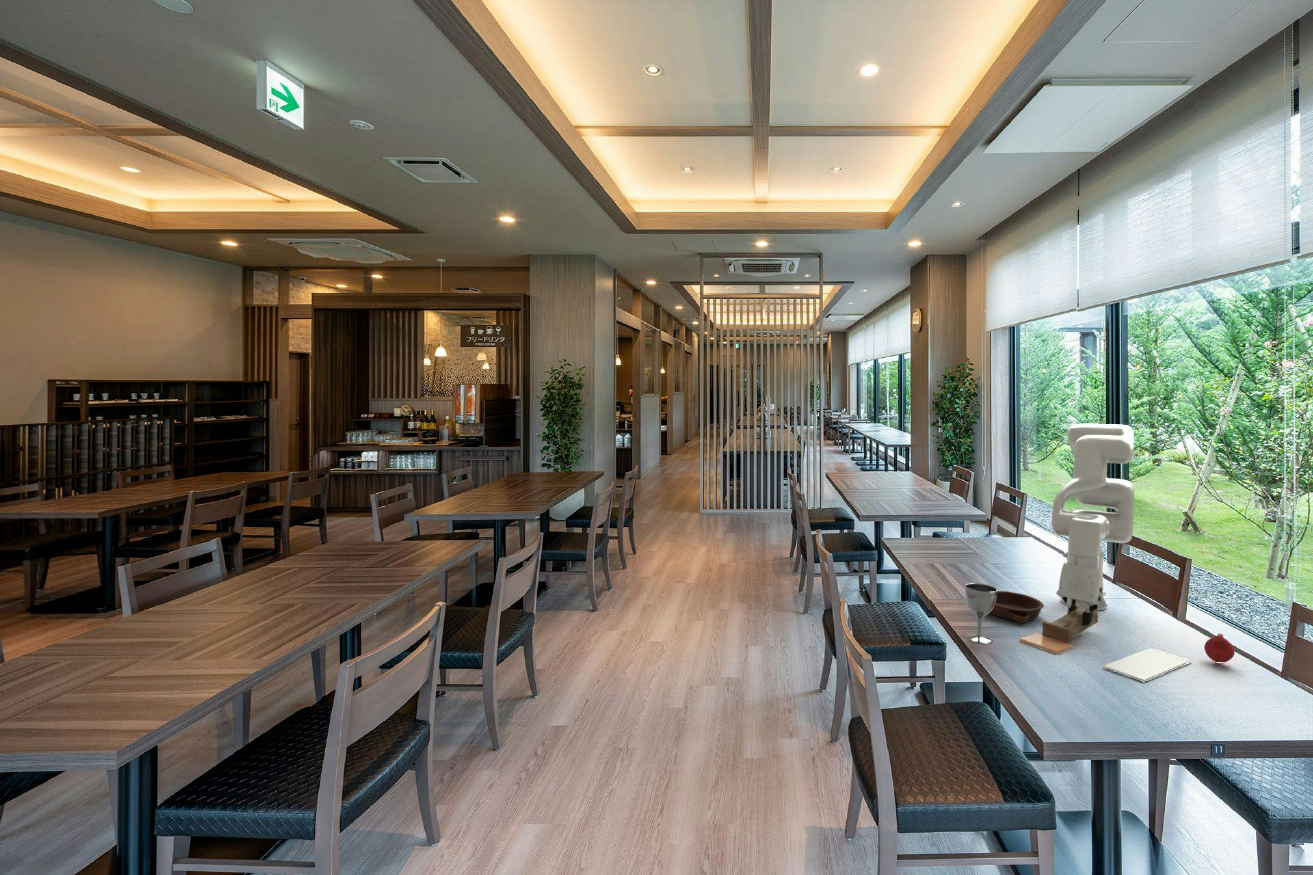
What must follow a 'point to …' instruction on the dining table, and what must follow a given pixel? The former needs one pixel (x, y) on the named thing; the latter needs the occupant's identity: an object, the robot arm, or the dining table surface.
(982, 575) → the dining table surface
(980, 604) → the wine glass
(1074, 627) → the brown wooden brick
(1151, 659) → the board
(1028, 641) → the wooden picture frame
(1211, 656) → the onion
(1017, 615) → the dish
